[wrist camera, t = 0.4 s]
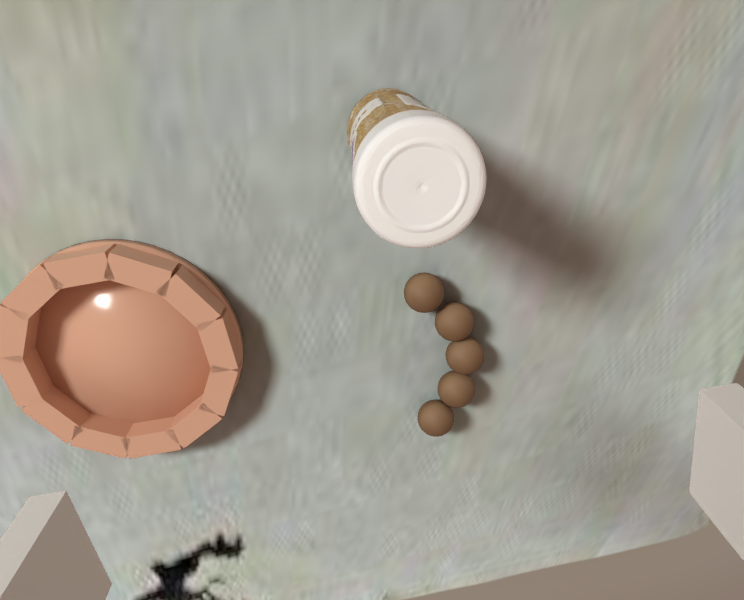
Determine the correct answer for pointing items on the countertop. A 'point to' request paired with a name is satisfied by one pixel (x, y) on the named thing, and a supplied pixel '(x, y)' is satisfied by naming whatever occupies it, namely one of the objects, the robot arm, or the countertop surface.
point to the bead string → (460, 354)
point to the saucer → (120, 348)
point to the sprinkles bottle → (413, 170)
